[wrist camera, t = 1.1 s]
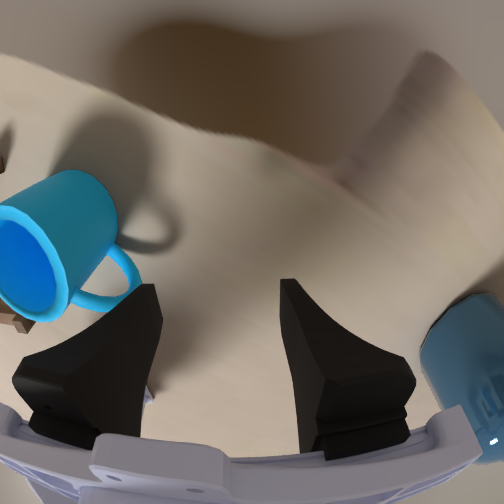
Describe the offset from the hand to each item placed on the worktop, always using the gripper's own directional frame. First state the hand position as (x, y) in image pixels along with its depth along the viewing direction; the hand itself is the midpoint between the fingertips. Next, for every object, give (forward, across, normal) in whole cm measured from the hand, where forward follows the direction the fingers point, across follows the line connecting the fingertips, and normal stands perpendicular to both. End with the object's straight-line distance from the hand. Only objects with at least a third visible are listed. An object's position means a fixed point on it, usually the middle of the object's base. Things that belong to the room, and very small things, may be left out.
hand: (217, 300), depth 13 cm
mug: (+10, +11, 0) cm, 15 cm away
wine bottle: (+10, -27, +15) cm, 32 cm away
